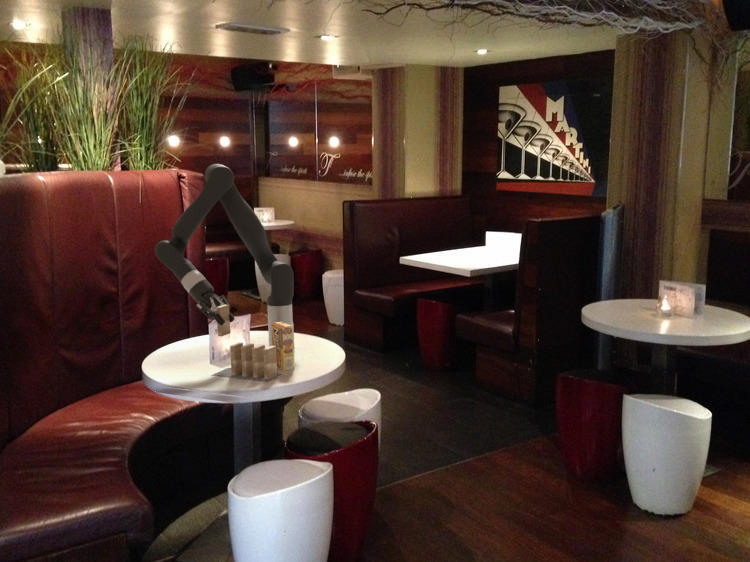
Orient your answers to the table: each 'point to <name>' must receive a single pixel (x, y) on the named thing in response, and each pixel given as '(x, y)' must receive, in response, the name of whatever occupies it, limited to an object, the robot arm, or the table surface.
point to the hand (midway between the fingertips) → (228, 322)
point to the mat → (228, 374)
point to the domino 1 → (224, 313)
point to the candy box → (283, 344)
